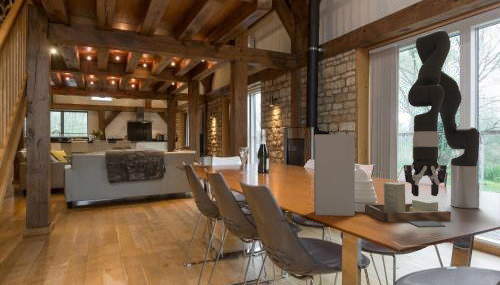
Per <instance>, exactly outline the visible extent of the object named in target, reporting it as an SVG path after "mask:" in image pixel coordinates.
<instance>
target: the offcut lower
mask: <svg viewBox="0 0 500 285" xmlns="http://www.w3.org/2000/svg"><path fill="white" fill-rule="evenodd" d="M438 211H440V209H438ZM410 212H425V211H424V210H420V209H416V208H412V207H410Z"/></svg>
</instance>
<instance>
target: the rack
mask: <svg viewBox="0 0 500 285" xmlns="http://www.w3.org/2000/svg"><path fill="white" fill-rule="evenodd" d="M410 207H412V203H405V210H406V212H385V211H384V203H377V204H365V212H364V213H366V214H368V215H370V216H371V217H374V218H376V219H378V220H380V221H382V222H384V223H395V222H406V221H408V220H433V221H435V222H438V221H439V222H443V221H451V220H452V219H451V218H452V214H451V213H452V211H449V210H439V211H425V212H410Z"/></svg>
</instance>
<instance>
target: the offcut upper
mask: <svg viewBox="0 0 500 285" xmlns="http://www.w3.org/2000/svg"><path fill="white" fill-rule="evenodd" d="M411 204H412V208H416V209H420V210H424V211H438V210H439V202H438V201H434V200H429V199H424V198H419V199H418V198H417V199H411Z"/></svg>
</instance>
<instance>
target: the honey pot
mask: <svg viewBox="0 0 500 285" xmlns="http://www.w3.org/2000/svg"><path fill="white" fill-rule="evenodd" d="M361 165H362V164H360V163H355V212H358V213H366V212H365V204H378V195H377V192H376V191H375V190H376V188H375V187H374V184H373V182H374V180H373V179H371V177H370V175H369V174H368V172H367V171H366V169H365V168H363V167H361Z"/></svg>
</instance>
